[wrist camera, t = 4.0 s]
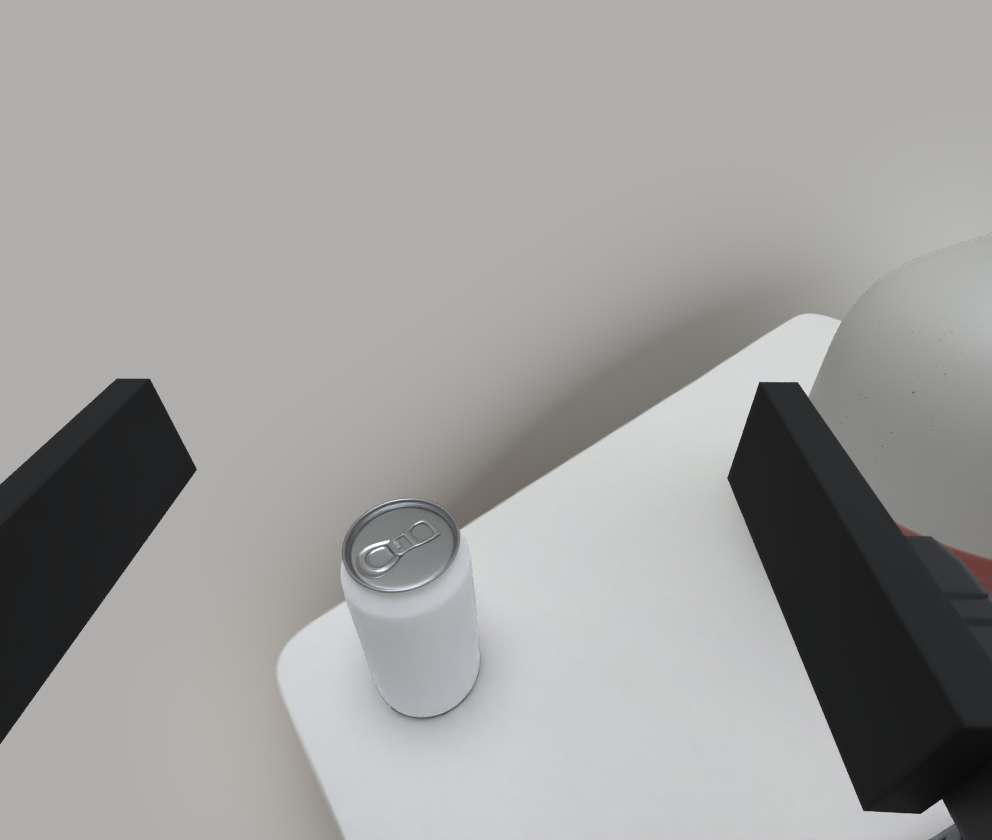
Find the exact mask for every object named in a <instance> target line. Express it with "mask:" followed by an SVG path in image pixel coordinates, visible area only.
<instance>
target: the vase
mask: <svg viewBox="0 0 992 840" xmlns="http://www.w3.org/2000/svg"><path fill="white" fill-rule="evenodd" d="M808 398H809V399H810V401H811V402H812V404H813V405H814V406H815V408H816V409H817V411H818V412H819V414H820V415H821V417H822V418H823V419H824V421H825V422H826V424H827V425H828V427H829V428H830V429H831V431H832V432H833V434H834V435H835V437H836V438H837V440H838V441H839V442H840V444H841V445H842V447H843V448H844V450H845V451H846V452H847V454H848V455H849V457H850V458H851V460H852V461H853V463H854V464H855V465H856V467H857V468H858V470H859V471H860V473H861V474H862V475H863V477H864V478H865V480H866V481H867V483H868V484H869V486H870V487H871V488H872V490H873V491H874V493H875V494H876V496H877V497H878V498H879V500H880V501H881V503H882V504H883V506H884V507H885V509H886V510H887V511H888V513H889V514H890V516H891V517H892V519H893V520H894V521H895V523H896V524H897V526H898V527H899V529H900V530H901V532H902V533H903V534H904V536H932V537H933V538H934V539H935V540H937V541H938V542H939V543H940V544H942V545H943V546H944V547H945V548H947V549H948V550H949V551H950V552H952V553H953V554H954V555H956V556H957V557H958V558H959V559H961V560H962V561H963V562H964V563H965V564H966V565H967V566H968V568H969V569H970V570H971V571H972V573H973V574H974V575H975V577H976V578H977V579H978V581H979V582H980V583H981V584H982V586H983V587H984V588H985V590H986V591H987V592H988V594H989V595H988V598H989V599H990V600H992V233H990V234H987V235H984V236H981V237H978V238H975V239H972V240H968V241H965V242H963V243H959V244H955V245H952V246H949V247H946V248H943V249H940V250H936V251H934V252H931V253H928V254H926V255H923V256H921V257H918V258H916V259H914V260H912V261H909V262H907V263H905V264H903V265H901V266H899V267H897V268H896V269H894V270H892V271H891V272H889V273H888V274H886V275H885V276H884V277H882V278H881V279H879V280H878V281H877V282H876V283H875V284H874V285H873V286H872V287H870V288H869V289H868V290H867V291H866V292H865V293H864V294H863V295H862V296H861V297H860V299H859V300H858V301H857V302H856V303H855V304H854V305H853V306H852V308H851V309H850V311H849V312H848V314H847V315H846V316H845V318H844V320H843V321H842V322H841V324H840V326H839V328H838V330H837V332H836V334H835V336H834V338H833V340H832V342H831V345H830V347H829V349H828V351H827V354H826V356H825V358H824V361H823V363H822V365H821V368H820V370H819V373H818V375H817V378H816V380H815V382H814V385H813V387H812V390H811V392H810V395H809V397H808Z"/></svg>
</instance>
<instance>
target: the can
mask: <svg viewBox="0 0 992 840" xmlns="http://www.w3.org/2000/svg"><path fill="white" fill-rule="evenodd" d="M342 559H343V560H342V564H341V583H342V588H343V592H344V595H345V598H346V601H347V604H348V607H349V610H350V613H351V616H352V619H353V622H354V625H355V628H356V630H357V633H358V636H359V639H360V642H361V645H362V648H363V650H364V653H365V656H366V659H367V662H368V665H369V667H370V670H371V673H372V676H373V678H374V681H375V684H376V686H377V689H378V691H379V692H380V694H381V696H382V697H383V698H384V700H385V701H386V702H387V703H388V704H389V705H390V706H391V707H392V708H394V709H395V710H397V711H398V712H400V713H402V714H405V715H408V716H412V717H431V716H436V715H439V714H442V713H444V712H446V711H448V710H450V709H452V708H453V707H455V706H456V705H457V704H459V703H460V702H461V701H462V700H463V699H464V698H465V697H466V696H467V694H468V693H469V692H470V690H471V689H472V687H473V685H474V683H475V681H476V679H477V676H478V672H479V666H480V649H479V637H478V625H477V614H476V604H475V593H474V583H473V573H472V564H471V556H470V551H469V547H468V544H467V541H466V539H465V537H464V535H463V534H462V532H461V531H460V530H459V527H458V525H457V522H456V520H455V519H454V517H453V516H452V515H451V514H450V513H449V511H447V510H446V509H445V508H444V507H442V506H440V505H438V504H437V503H434V502H432V501H429V500H425V499H419V498H402V499H396V500H391V501H388V502H385V503H382V504H380V505H377V506H376V507H374V508H372V509H370V510H369V511H367V512H366V513H364V514H363V515H362V516H361V517H360V518H358V519H357V520H356V521H355V523H354V524H353V525H352V526H351V528H350V529H349V531H348V533H347V534H346V537H345V539H344V542H343V548H342Z"/></svg>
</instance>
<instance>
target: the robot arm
mask: <svg viewBox="0 0 992 840" xmlns="http://www.w3.org/2000/svg"><path fill="white" fill-rule="evenodd" d="M196 470H197V469H196V467H195V465H194V463H193V461H192V459H191V457H190V455H189V453H188V451H187V449H186V448H185V446H184V444H183V442H182V440H181V438H180V436H179V434H178V432H177V430H176V428H175V426H174V424H173V422H172V421H171V419H170V417H169V415H168V413H167V411H166V409H165V407H164V405H163V403H162V401H161V399H160V397H159V396H158V394H157V392H156V390H155V388H154V386H153V384H152V383H151V381H150V379H116V380H115V381H114V382H113V383H112V384H110V385H109V386H108V387H107V388H106V389H105V390H104V391H103V392H102V393H101V394H99V395H98V396H97V397H96V398H95V399H94V400H93V401H92V402H91V403H90V404H88V405H87V406H86V407H85V408H84V409H83V410H82V411H81V412H80V413H79V414H77V415H76V416H75V417H74V418H73V419H72V420H71V421H70V422H69V423H68V424H66V425H65V426H64V427H63V428H62V429H61V430H60V431H59V432H58V433H56V434H55V435H54V436H53V437H52V438H51V439H50V440H49V441H48V442H47V443H46V444H44V445H43V446H42V447H41V448H40V449H39V450H38V451H37V452H36V453H35V454H34V455H32V456H31V457H30V458H29V459H28V460H27V461H26V462H25V463H24V464H22V465H21V466H20V467H19V468H18V469H17V470H16V471H15V472H14V473H13V474H12V475H10V476H9V477H8V478H7V479H6V480H5V481H4V482H3V483H1V484H0V744H1V742H2V741H3V739H4V738H5V737H6V735H7V734H8V732H9V731H10V730H11V728H12V727H13V726H14V724H15V723H16V721H17V720H18V718H19V717H20V716H21V714H22V713H23V712H24V710H25V709H26V707H27V706H28V705H29V703H30V702H31V700H32V699H33V698H34V696H35V695H36V693H37V692H38V691H39V689H40V688H41V686H42V685H43V684H44V682H45V681H46V679H47V678H48V677H49V675H50V674H51V672H52V671H53V670H54V668H55V667H56V666H57V664H58V663H59V661H60V660H61V659H62V657H63V656H64V654H65V653H66V652H67V650H68V649H69V647H70V646H71V645H72V643H73V642H74V640H75V639H76V638H77V636H78V635H79V633H80V632H81V631H82V629H83V628H84V626H85V625H86V624H87V622H88V621H89V619H90V618H91V617H92V615H93V614H94V612H95V611H96V610H97V608H98V607H99V606H100V604H101V602H102V601H103V600H104V599H105V597H106V595H107V594H108V593H109V592H110V590H111V589H112V587H113V586H114V584H115V583H116V582H117V580H118V579H119V577H120V576H121V575H122V573H123V572H124V570H125V569H126V568H127V566H128V565H129V564H130V562H131V561H132V559H133V558H134V556H135V555H136V554H137V552H138V551H139V550H140V548H141V547H142V545H143V544H144V543H145V541H146V540H147V538H148V537H149V536H150V534H151V533H152V532H153V530H154V529H155V527H156V526H157V525H158V523H159V522H160V520H161V519H162V517H163V516H164V515H165V513H166V512H167V511H168V509H169V508H170V506H171V505H172V504H173V502H174V501H175V499H176V498H177V497H178V495H179V494H180V492H181V491H182V490H183V488H184V487H185V485H186V484H187V483H188V481H189V480H190V478H191V477H192V476H193V474H194V473H195V471H196ZM728 481H729V483H730V486H731V488H732V490H733V493H734V495H735V498H736V500H737V503H738V505H739V508H740V510H741V513H742V515H743V517H744V520H745V522H746V525H747V527H748V530H749V532H750V535H751V537H752V539H753V542H754V544H755V547H756V549H757V552H758V554H759V557H760V559H761V561H762V564H763V566H764V569H765V571H766V574H767V576H768V579H769V581H770V583H771V586H772V588H773V591H774V593H775V596H776V598H777V601H778V603H779V605H780V608H781V610H782V613H783V615H784V618H785V620H786V623H787V625H788V628H789V630H790V632H791V635H792V637H793V640H794V642H795V645H796V647H797V650H798V652H799V654H800V657H801V659H802V662H803V664H804V667H805V669H806V672H807V674H808V676H809V679H810V681H811V684H812V686H813V689H814V691H815V694H816V696H817V698H818V701H819V703H820V706H821V708H822V711H823V713H824V716H825V718H826V720H827V723H828V725H829V728H830V730H831V733H832V735H833V738H834V740H835V742H836V745H837V747H838V750H839V752H840V755H841V757H842V760H843V762H844V765H845V767H846V769H847V772H848V774H849V777H850V779H851V782H852V784H853V787H854V789H855V791H856V794H857V796H858V799H859V801H860V804H861V806H862V809H863V811H875V812H894V813H913V814H921V813H922V812H924V811H925V810H927V809H928V808H930V807H931V806H932V805H934V804H935V803H937V802H938V801H939V800H941V799H943V801H944V803H945V805H946V807H947V809H948V811H949V813H950V815H951V817H952V819H953V821H954V823H955V824H953V825H952V826H950V827H949V828H947V829H945V830H944V831H942V832H941V833H939V834H937V835H936V836H934V837H933V838H931V839H930V840H992V600H990V599H989V598H988V595H989V594H988V592H987V591H986V590H985V588H984V587H983V586H982V584H981V583H980V582H979V581H978V579H977V578H976V577H975V575H974V574H973V573H972V571H971V570H970V569H969V568H968V566H967V565H966V564H965V563H964V562H963V561H962V560H961V559H959V558H958V557H957V556H956V555H954V554H953V553H952V552H950V551H949V550H948V549H947V548H945V547H944V546H943V545H942V544H940V543H939V542H938V541H937V540H935V539H934V538H933V537H932V536H904V534H903V533H902V532H901V530H900V529H899V527H898V526H897V524H896V523H895V521H894V520H893V519H892V517H891V516H890V514H889V513H888V511H887V510H886V509H885V507H884V506H883V504H882V503H881V501H880V500H879V498H878V497H877V496H876V494H875V493H874V491H873V490H872V488H871V487H870V486H869V484H868V483H867V481H866V480H865V478H864V477H863V475H862V474H861V473H860V471H859V470H858V468H857V467H856V465H855V464H854V463H853V461H852V460H851V458H850V457H849V455H848V454H847V452H846V451H845V450H844V448H843V447H842V445H841V444H840V442H839V441H838V440H837V438H836V437H835V435H834V434H833V432H832V431H831V429H830V428H829V427H828V425H827V424H826V422H825V421H824V419H823V418H822V417H821V415H820V414H819V412H818V411H817V409H816V408H815V406H814V405H813V404H812V402H811V401H810V399H809V398H808V396H807V395H806V394H805V392H804V391H803V389H802V388H801V386H800V385H799V383H798V382H759V385H758V388H757V391H756V394H755V397H754V400H753V403H752V406H751V409H750V412H749V415H748V418H747V421H746V424H745V427H744V430H743V433H742V436H741V439H740V442H739V445H738V448H737V451H736V454H735V457H734V460H733V463H732V466H731V469H730V472H729V475H728Z"/></svg>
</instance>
